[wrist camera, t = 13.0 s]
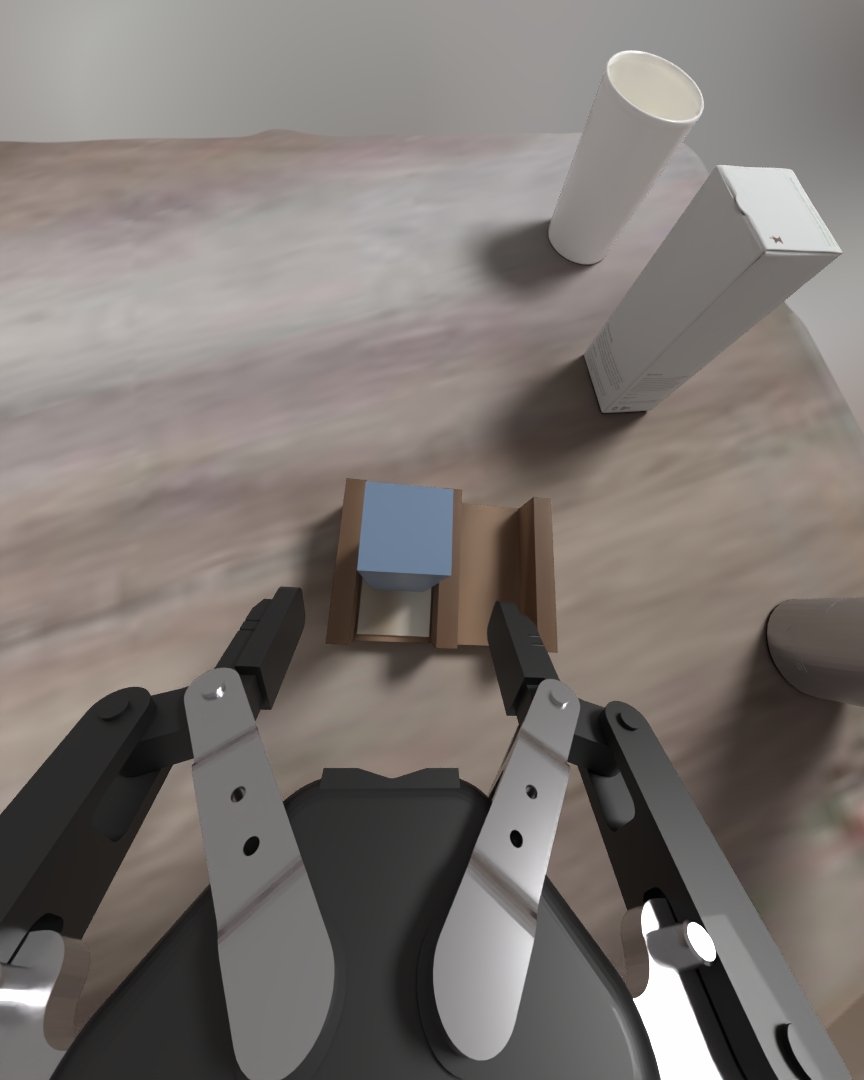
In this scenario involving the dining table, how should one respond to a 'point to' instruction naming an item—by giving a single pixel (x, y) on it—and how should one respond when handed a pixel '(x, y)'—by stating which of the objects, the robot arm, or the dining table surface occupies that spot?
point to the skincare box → (709, 284)
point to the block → (405, 536)
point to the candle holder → (622, 151)
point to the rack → (451, 579)
